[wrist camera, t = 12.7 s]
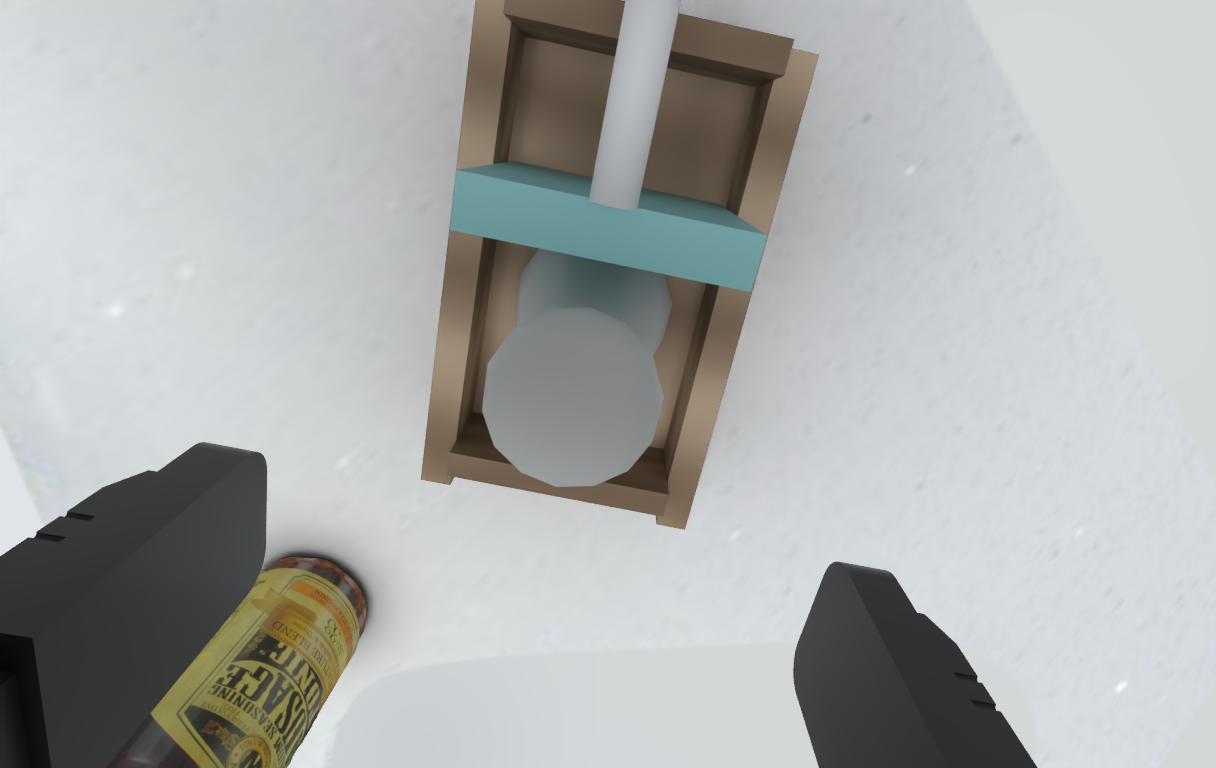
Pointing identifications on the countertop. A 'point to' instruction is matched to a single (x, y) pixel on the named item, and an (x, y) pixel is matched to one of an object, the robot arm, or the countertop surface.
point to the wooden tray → (677, 164)
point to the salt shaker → (578, 370)
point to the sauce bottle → (257, 675)
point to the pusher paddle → (615, 184)
